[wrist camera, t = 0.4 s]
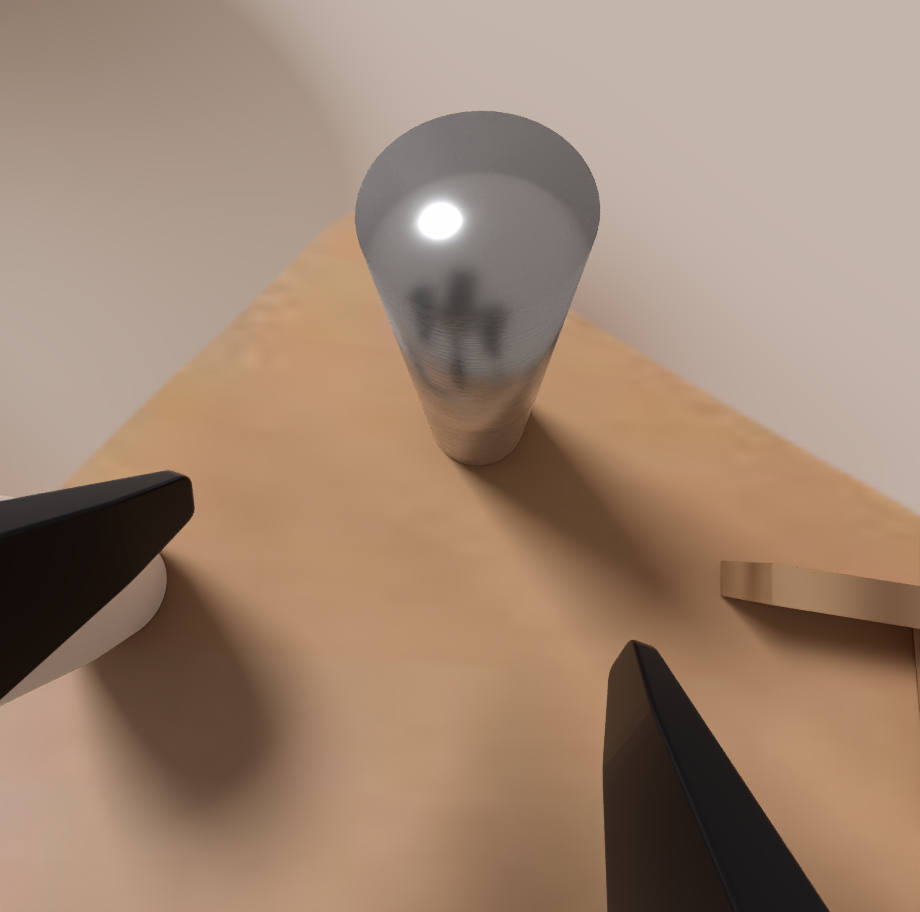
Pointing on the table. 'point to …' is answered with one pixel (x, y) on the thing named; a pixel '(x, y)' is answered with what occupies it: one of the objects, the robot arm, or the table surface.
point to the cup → (102, 628)
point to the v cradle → (826, 594)
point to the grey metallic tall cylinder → (477, 266)
